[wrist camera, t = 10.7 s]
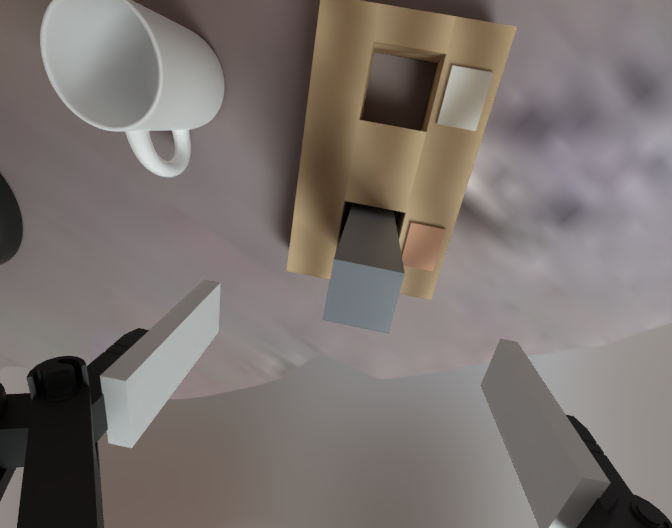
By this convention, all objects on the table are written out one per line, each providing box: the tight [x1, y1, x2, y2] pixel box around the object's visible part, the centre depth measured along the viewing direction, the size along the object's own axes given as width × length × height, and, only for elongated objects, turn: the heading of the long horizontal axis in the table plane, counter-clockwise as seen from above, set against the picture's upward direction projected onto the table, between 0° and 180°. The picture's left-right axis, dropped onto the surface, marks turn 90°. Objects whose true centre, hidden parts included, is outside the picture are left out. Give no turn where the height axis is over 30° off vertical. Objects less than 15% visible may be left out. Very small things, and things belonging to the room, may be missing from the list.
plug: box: [323, 203, 405, 333], centre depth 27 cm, size 4×4×16 cm
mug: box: [40, 0, 225, 177], centre depth 27 cm, size 12×8×10 cm
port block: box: [287, 0, 517, 300], centre depth 30 cm, size 14×22×4 cm, turn 170°
